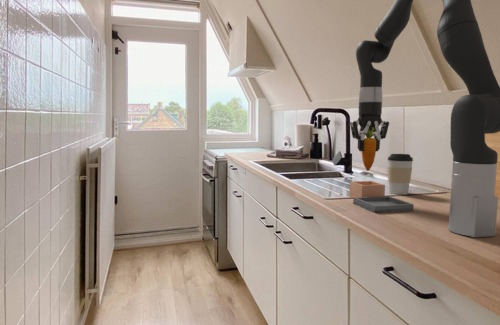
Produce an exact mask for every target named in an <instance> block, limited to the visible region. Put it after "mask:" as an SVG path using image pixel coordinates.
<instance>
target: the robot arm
mask: <svg viewBox="0 0 500 325" xmlns="http://www.w3.org/2000/svg"><path fill="white" fill-rule="evenodd" d="M441 1H442V5H443V9H442V12H441V16H440V19H439V20H438V24H437V29H436V36H437V40H438V43H439V47H440V51H441V53H442V56H443V58H444V60H445V61H446V62H447V64H448V65H449V66H450V67H451V69H452V70H453V71H454V72H455V73H456V74H457V75H458V76H459V78H460V79H461V80H462V81H463V83H464V84H465V86H466V88H467V91H468V94H466V95H461V97H459V98H458V99H457V100H456V101H455V102H454V104H453V107H452V109H451V113H450V140H449V141H450V143H449V144H450V149H451V152H452V171H451V173H452V174H451V184H450V185H451V186H450V198H449V199H450V200H449V216H448V217H449V218H448V231H450V232H452V233H454V234H458V235H462V236H468V237H471V238H487V237H495V236H496V233H497V232H496V230H497V228H496V227H497V220H498V219H497V218H498V205H499V196H496V194H495V193H496V181H497V170H498V169H497V168H498V158H499V157H498V156H499V155H498V152H497V151H496V150H494V149H493V148H491V147H489V146H488V145H487V143H486V134H488V135H489V134H497V133H500V84H499V82H498V80H497V77H496V76H495V72H494V71H493V68H492V64H491V62H490V59H489V56H488V53H487V50H486V48H485V43H484V39H483V36H482V32H481V29H480V27H479V22H478V20H477V17H476V15H475V11H474V8H473V5H472V1H471V0H441ZM413 2H414V0H394V1H393V3H392V4H391V7H390V8H389V10H388V11H387V13H386V14H385V15H384V17H383V19H381V21H380V22H379V24H378V26H377V27H376V29H375V30H374V38H375V40H367V39H366V40H362V41H360V42H359V43H358V45H357V47H356V50H355V58H356V62H357V66H358V71H359V75H360V76H359V77H360V85H359V93H358V95H359V96H358V119H357V120H351V121H350V122H349V125H350V130H351V136H352V138H353V139H356V140H357V149H358V151H359V152H362V151H364V141H363V140H364V138H366V134H367V131H368V130H369V131H371V130H372V128H375V129H374V131H373V133H375V134H374V135H373V136H372V138H374V139H375V140H376V152H378V151H379V150H380V149H381V148H380V146H381V140H383V139H386V137H387V133H388V130H389V126H390V122H389V121H384V120H383V119H382V114H383V113H382V110H383V109H382V108H383V72H382V71H381V70H380V69H377V68H375V67H374V66H373V64H381V63H383V62H385V61H386V60H387V58H388V57H389V55H390V52H391V51H392V48H393V46H394V43H395V41H396V40H397V39H398V37H399V36H400V35H401V33H402V32H404V30H405V29H406V27H407V25H408V23H409V22H410V18H411V11H412V7H413V6H412V4H413ZM358 127H359V129H358ZM373 133H372V134H373Z"/></svg>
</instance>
